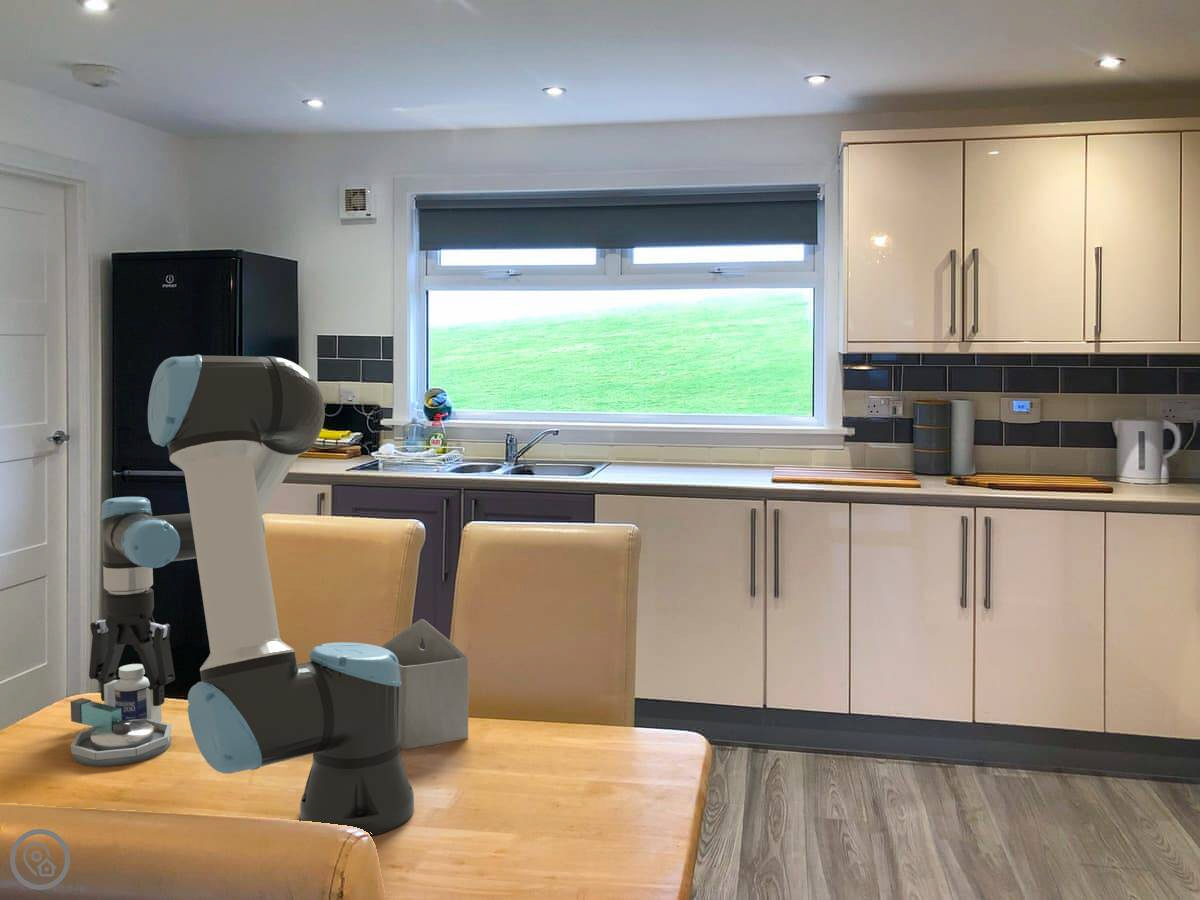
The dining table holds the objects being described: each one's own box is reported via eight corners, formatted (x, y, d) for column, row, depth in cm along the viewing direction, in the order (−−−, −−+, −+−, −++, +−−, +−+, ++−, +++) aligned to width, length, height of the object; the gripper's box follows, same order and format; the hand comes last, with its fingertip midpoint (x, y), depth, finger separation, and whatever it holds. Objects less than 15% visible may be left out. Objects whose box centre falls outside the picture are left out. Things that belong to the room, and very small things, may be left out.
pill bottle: (108, 726, 170) (106, 670, 169) (131, 716, 175) (130, 661, 175) (134, 730, 169) (133, 673, 168) (157, 719, 174) (156, 664, 173)
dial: (166, 735, 162) (165, 707, 162) (116, 754, 154) (115, 724, 154) (101, 719, 170) (100, 691, 169) (51, 736, 162) (50, 707, 161)
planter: (356, 744, 164) (354, 626, 162) (379, 727, 171) (378, 615, 170) (449, 755, 159) (449, 634, 158) (469, 737, 167) (468, 622, 165)
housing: (190, 742, 164) (189, 728, 163) (113, 773, 151) (112, 758, 151) (131, 727, 170) (131, 714, 170) (53, 755, 158) (52, 741, 158)
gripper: (196, 587, 172) (200, 719, 174) (92, 581, 176) (96, 709, 178) (168, 597, 164) (172, 734, 166) (60, 590, 169) (65, 724, 171)
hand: (133, 721), depth 172 cm, fingers open, 7 cm apart
